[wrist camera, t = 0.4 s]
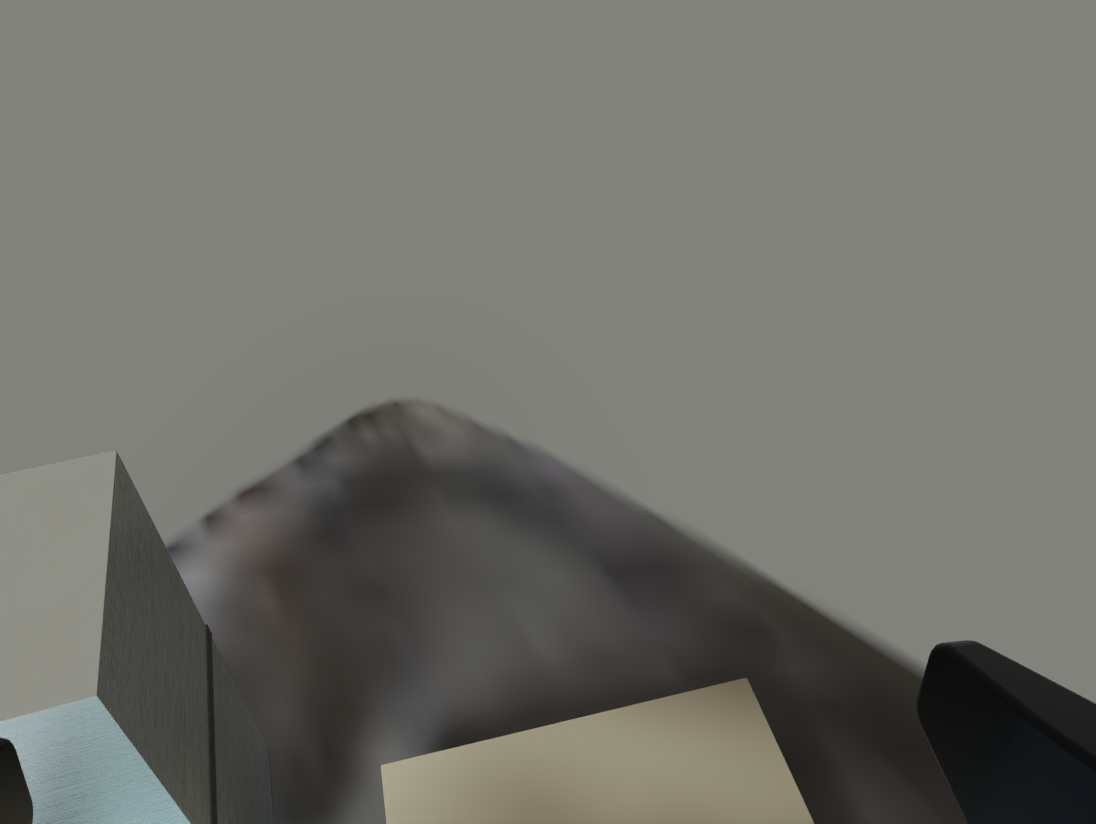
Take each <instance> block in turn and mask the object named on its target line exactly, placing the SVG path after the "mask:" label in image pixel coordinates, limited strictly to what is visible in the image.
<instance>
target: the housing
mask: <svg viewBox="0 0 1096 824" xmlns="http://www.w3.org/2000/svg"><path fill="white" fill-rule="evenodd" d="M0 738H6V739H8V740H10V741H11V742H12V744H13V745H14V747H15V749H16V752H17V755H18V758H19V761H20V764H21V767H22V771H23V774H24V777H25V780H26V783H27V786H28V789H29V792H30V796H31V799H32V803H33V823H32V824H274V818H273V805H272V792H271V780H270V767H269V754H268V747H267V745H266V743H265V741H264V739H263V737H262V735H261V733H260V731H259V729H258V727H257V725H256V723H255V721H254V719H253V717H252V715H251V714H250V712H249V710H248V708H247V706H246V704H245V702H244V700H243V698H242V696H241V694H240V692H239V690H238V688H237V686H236V684H235V682H234V680H233V678H232V676H231V674H230V672H229V670H228V668H227V666H226V664H225V662H224V660H223V659H222V657H221V655H220V653H219V651H218V649H217V647H216V645H215V643H214V641H213V639H212V633H211V631H210V629H209V627H208V625H205V623H204V621H203V619H202V617H201V615H200V613H199V611H198V609H197V607H196V605H195V603H194V602H193V600H192V598H191V596H190V594H189V592H188V590H187V588H186V586H185V584H184V582H183V580H182V578H181V576H180V574H179V572H178V570H177V568H176V566H175V564H174V562H173V560H172V558H171V556H170V554H169V552H168V550H167V548H166V547H165V545H164V543H163V541H162V539H161V537H160V535H159V533H158V531H157V529H156V527H155V525H154V523H153V521H152V519H151V517H150V515H149V513H148V511H147V509H146V507H145V505H144V503H143V501H142V499H141V497H140V496H139V493H138V492H137V490H136V488H135V486H134V484H133V482H132V480H131V478H130V476H129V474H128V472H127V470H126V468H125V466H124V464H123V462H122V460H121V458H120V456H119V455H118V452H117V450H115V451H110V452H105V453H100V454H96V455H91V456H87V457H82V458H77V459H73V460H67V461H63V462H58V463H54V464H49V465H44V466H39V467H35V468H30V469H25V470H21V471H16V472H12V473H6V474H2V475H0Z"/></svg>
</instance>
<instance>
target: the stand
mask: <svg viewBox="0 0 1096 824" xmlns="http://www.w3.org/2000/svg"><path fill="white" fill-rule="evenodd" d="M381 773H382V783H383V793H384V803H385V813H386V823H387V824H814V822H813V820H812V817H811V815H810V813H809V811H808V809H807V807H806V804H805V802H804V800H803V798H802V796H801V794H800V792H799V789H798V787H797V785H796V783H795V781H794V779H793V776H792V774H791V772H790V770H789V768H788V766H787V763H786V761H785V759H784V757H783V755H782V753H781V750H780V748H779V746H778V744H777V742H776V740H775V737H774V735H773V733H772V731H771V729H770V727H769V725H768V722H767V720H766V718H765V716H764V714H763V712H762V709H761V707H760V705H759V703H758V701H757V699H756V696H755V694H754V692H753V690H752V688H751V686H750V683H749V681H748V679H747V678H743V679H738V680H734V681H730V682H726V683H722V684H718V685H713V686H709V687H705V688H701V689H697V690H693V691H688V692H684V693H680V694H676V695H672V696H668V697H663V698H659V699H655V700H651V701H647V702H643V703H638V704H634V705H630V706H626V707H622V708H617V709H613V710H609V711H605V712H601V713H597V714H592V715H588V716H584V717H580V718H576V719H572V720H567V721H563V722H559V723H555V724H551V725H547V726H542V727H538V728H534V729H530V730H526V731H522V732H517V733H513V734H509V735H505V736H501V737H497V738H492V739H488V740H484V741H480V742H476V743H472V744H467V745H463V746H459V747H455V748H451V749H447V750H442V751H438V752H434V753H430V754H426V755H422V756H417V757H413V758H409V759H405V760H401V761H397V762H392V763H388V764H384V765H381Z"/></svg>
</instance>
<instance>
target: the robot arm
mask: <svg viewBox="0 0 1096 824" xmlns="http://www.w3.org/2000/svg"><path fill="white" fill-rule="evenodd" d="M917 716H918V719H919V723H920V726H921V728H922V730H923V732H924V734H925V737H926V739H927V741H928V743H929V745H930V747H931V749H932V751H933V753H934V756H935V758H936V760H937V762H938V764H939V766H940V768H941V770H942V772H943V775H944V777H945V779H946V781H947V783H948V785H949V787H950V789H951V791H952V794H953V796H954V798H955V800H956V802H957V804H958V806H959V808H960V810H961V813H962V815H963V817H964V819H965V821H966V823H967V824H1096V704H1095V703H1093V702H1091V701H1089V700H1087V699H1086V698H1083V697H1082V696H1080V695H1078V694H1076V693H1074V692H1072V691H1070V690H1068V689H1066V688H1065V687H1063V686H1061V685H1059V684H1057V683H1055V682H1053V681H1051V680H1049V679H1047V678H1045V677H1044V676H1041V675H1040V674H1038V673H1036V672H1034V671H1032V670H1030V669H1028V668H1026V667H1024V666H1023V665H1021V664H1019V663H1017V662H1015V661H1013V660H1011V659H1009V658H1007V657H1005V656H1003V655H1001V654H1000V653H998V652H996V651H994V650H992V649H990V648H988V647H986V646H984V645H982V644H980V643H978V642H975V641H957V642H948V643H941V644H938V645H936V646H935V648H934V649H933V650H932V651H931V653H930V656H929V659H928V663H927V666H926V670H925V673H924V677H923V680H922V684H921V687H920V691H919V695H918V698H917ZM32 823H33V803H32V799H31V796H30V792H29V789H28V786H27V783H26V780H25V777H24V774H23V771H22V767H21V764H20V761H19V758H18V755H17V752H16V749H15V747H14V745H13V744H12V742H11V741H10V740H8V739H6V738H0V824H32Z"/></svg>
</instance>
